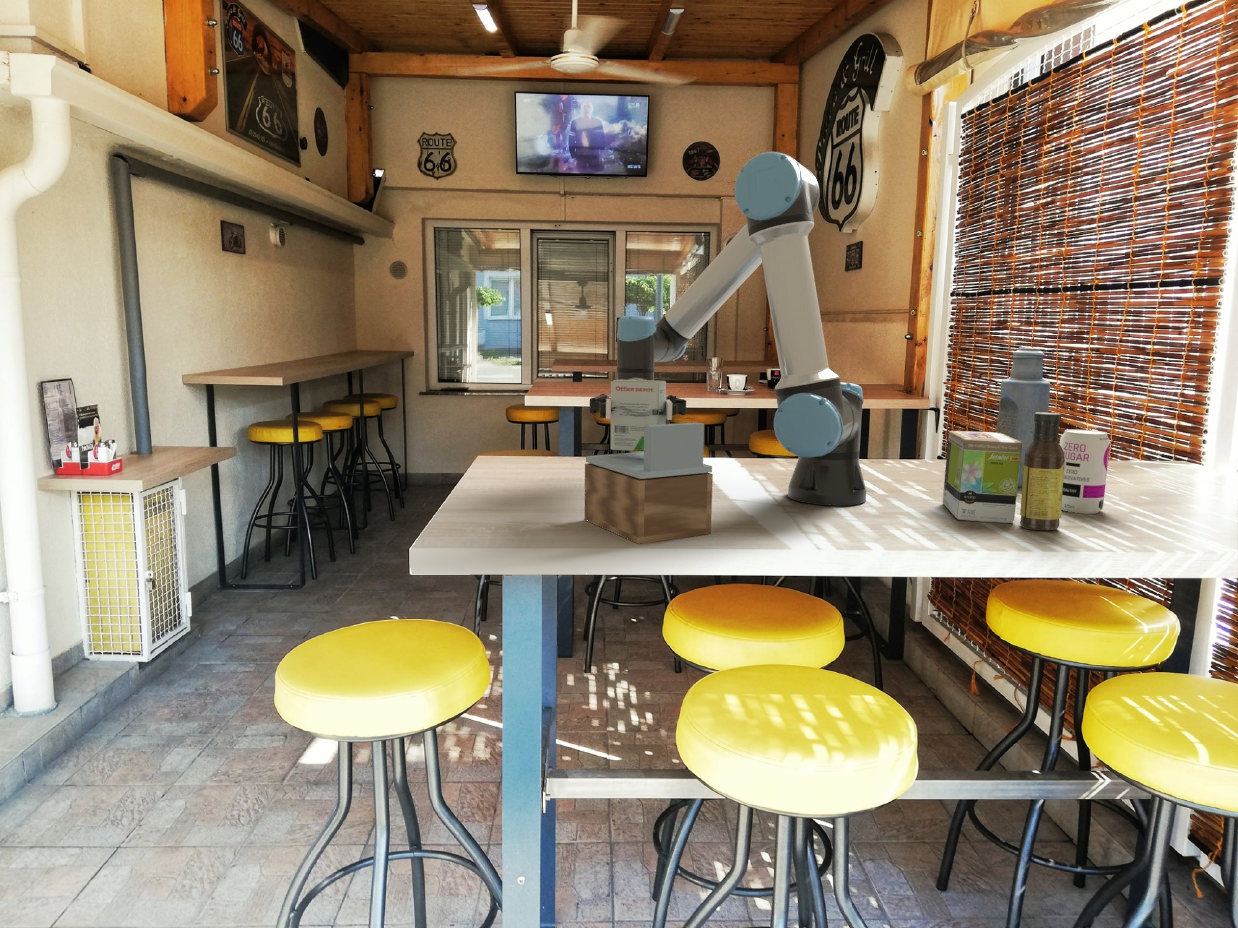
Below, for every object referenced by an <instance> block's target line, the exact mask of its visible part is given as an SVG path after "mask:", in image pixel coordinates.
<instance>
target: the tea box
mask: <svg viewBox="0 0 1238 928" xmlns="http://www.w3.org/2000/svg"><path fill="white" fill-rule="evenodd" d="M946 447H947V450H946V459H945V460H946V461H945V471H944V483H943V491H942V492H943V493H942V504H943V505H944V506H945V507H946V508H947V509H948V511H950V513H951V514H952V515H953V516H954V517H955V518H956V519H957V520H958V521H959V520H960V521H961V520H962V521H969V522H970V521H971V522H972V521H973V522H984V523H985V522H986V523H988V522H989V523H1002V524H1003V523H1004V524H1005V523H1006V524H1007V523H1009V524H1013V523H1014V521H1015V516H1016V515H1015V513H1016V506H1017V495H1018V488H1019V486H1018V478H1019V469H1020V460H1021V451H1022V442H1020V441H1018V440H1016V439H1013V438H1011V437H1009V436H1007V435H1004V434H1002V433H997V432H990V431H989V432H988V431H974V430H973V431H969V430H968V431H965V430H962V431H961V430H949V431H948V439H947V446H946Z"/></svg>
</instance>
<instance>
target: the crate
mask: <svg viewBox="0 0 1238 928" xmlns="http://www.w3.org/2000/svg"><path fill="white" fill-rule="evenodd" d="M713 477H714V474H713V473H712V472H708V473H698V474H687V475H677V476H666V477H656V478H645V479H639V478H636V477H633V476H629V475H626V474H623V473H620V472H617V471H613V470H610V469H607V468H604V467H601V466H597V465H594V464H591V463H588V462H586V463H584V521H585V520H588V521H589V522H588V521H587V522H588V523H590V522H592V523H594V524H596V525H595V526H597V525H599V526H600V527H599V526H598V527H599V528H601V527H603V528H605V529H604V530H606V529H608V530H610V531H612V532H611V533H613V532H615V533H617V534H619V535H621V536H620V537H622V538H624V537H625V538H624V539H626V538H628V539H629V540H628V539H627V540H628V541H631V540H632V541H631V542H632V543H633V542H634V543H636V544H637V543H638V544H637V545H639V544H640V543H641V544H647V543H652V542H661V541H669V540H675V539H682V538H689V537H696V536H705V535H711V534H712V514H713V513H712V509H713V506H712V505H713V479H714V478H713ZM592 523H591V524H592ZM594 524H593V525H594ZM603 528H602V529H603ZM608 530H607V531H608ZM610 531H609V532H610ZM615 533H614V534H615ZM617 534H616V535H617ZM619 535H618V536H619Z"/></svg>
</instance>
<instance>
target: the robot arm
mask: <svg viewBox="0 0 1238 928" xmlns="http://www.w3.org/2000/svg"><path fill="white" fill-rule="evenodd" d="M820 192H821V191H820V186H819V182H818V181H817V178H816V176H815V175H814V174H813V172H812V171H810V169H809V168H807V167H806V166H804V165H802V164H801V163H800V162H798V161H797V160H796V159H795V158H793V157H792V156H790V155H789V154H786V153H782V152H779V151H778V152H777V151H765V152H762V153H761V152H760V153H759V154H757V155H755V156H753V157H751V158H750V159H749V160H748V161H747V162H746V163H744V165H743V167H741V170H740V171H739V172H738V175H737V176H736V179H735V183H734V199H735V202H736V204H737V207H738V209H739V210H740V211H741V213H742V214H743V215H745V220H746V223H745V225H743V226H742V228H740V230H739V231H738V232H737V234H735V235H734V237H733V238H732V239H731V240H730V241H729V243H727V245H726V246H725V247H724V248H723V249H722V250H721V251H720V252H719V254H718V255H717V256H716V257H715V258H714V259H713V260H712V261H711V263H709V265H708V266H707V267H706V268H705V269H704V270H703V271H702V272H701V274H699V276H697V278H696V279H695V280H694V281H693V282H692V283H691V284H690V286H689V287H688V288H687V289H686V290H685V291H684V292H683V294H682V295H681V296H679V298H678V299H677V300H676V302H675V303H674V304H672V305H671V306H670V308H669V309H668V310H667V311H666V312H665V314H664V315H663V316H662V317H661V318H660V319H659V320H658V321H657V323H656V321H655V318H654V317H653V316H647V315H646V316H645V315H644V316H643V315H623V316H621V317H619V319H618V322H617V333H616V380H651V381H655V363H669V362H673V361H675V360H677V359H679V358H681V357H682V356H683V354H685V352H686V349H687V345H688V343H689V341H690V340H691V339H692V338H693V337H694V336H695V335H696V334H697V332H699V331H700V329H702V327H703V326H704V325H705V324H706V323H707V322H708V321H709V320H710V319H711V317H713V315H714V314H715V313H716V312H718V310H719V309H720V308H721V307H722V306H723V305H724V304H725V303H726V302H727V301H728V300H729V299H730V298H731V296H732V295H734V293H735V292H737V290H738V289H739V288H740V287H741V286H742V285H743V283H744V282H745V281H746V280H748V278H750V276H751V275H752V274H753V273H754V272H755V271H756V270H757V269H758V267H759V266H760V265H762V269H763V270H762V271H763V275H764V282H765V289H766V294H767V299H768V304H769V305H768V306H769V310H770V316H771V317H770V318H771V324H772V329H773V335H774V340H775V347H776V352H777V358H778V359H777V360H778V365H779V371H780V375H781V376H780V379H779V381H778V383H777V384H776V385H775V387H774V392H775V397H776V399H775V400H776V403H777V405H776V406H777V409H776V410H775V414H774V418H773V429H774V433H775V437H776V438H777V440H778V442H779V443H780V445H781V446H782V447H783V448H784V449H785V450H786V451H787V452H789V453H790V454H793V456H798V458H797V459H798V460H797V462H796V465H795V467H794V470H793V472H792V475H791V478H790V480H789V482H788V487H787V488H788V489H787V496H788V498H790V499H792V500H794V501H797V502H801V503H805V504H813V505H821V506H853V505H854V506H855V505H859V504H863V503H865V502H867V501H866V500H867V488H866V487H867V486H866V484H865V481H864V476H863V473H862V468H861V466H860V449H861V447H860V446H861V432H862V417H863V416H862V414H863V404H864V400H865V399H864V395H863V393H864V392H863V388H862V386H860V385H859V384H855V383H852V382H851V383H850V382H849V383H848V382H841V379H840V376H839V375H838V374H837V373H835V372H834V371H832V370H831V368H830V366H829V361H828V355H827V354H828V353H827V348H826V342H825V337H824V336H825V335H824V329H823V324H822V318H821V312H820V311H821V310H820V305H819V300H818V298H819V297H818V292H817V287H816V281H815V274H814V268H813V263H812V256H811V250H810V244H809V234H810V233H811V232H812V230H813V228H814V227H815V219H814V214H815V213H816V210H817V209H818V205H819V202H820V194H821V193H820ZM589 413H590V414H592V415H595V414H597V413H599V418H600V419H606V420H611V397H610V394H605V393H600V394H599V395H598V396H594V397H590V398H589ZM675 415H680V416H686V415H687V400H686V399H683V398H680V397H677V395H673V394H669V395H666V421H669V420H670V421H672V419H673V416H675Z"/></svg>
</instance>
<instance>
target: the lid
mask: <svg viewBox="0 0 1238 928" xmlns="http://www.w3.org/2000/svg"><path fill="white" fill-rule="evenodd" d="M704 445H705V423H702V422H698V421H697V422H696V421H695V422H682V423H681V422H680V423H666V424H660V425H644V451H633V452H625V453H624V452H623V453H610V454H597V455H585V462H586V463H591V464H594V465H597V466H601V467H604V468H607V469H610V470H613V471H617V472H620V473H623V474H626V475H629V476H633V477H636V478H639V479H645V478H656V477H666V476H677V475H687V474H698V473H712V472H713V466H712V465H708V464H705V463H704V449H705V448H704V447H705V446H704Z"/></svg>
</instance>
